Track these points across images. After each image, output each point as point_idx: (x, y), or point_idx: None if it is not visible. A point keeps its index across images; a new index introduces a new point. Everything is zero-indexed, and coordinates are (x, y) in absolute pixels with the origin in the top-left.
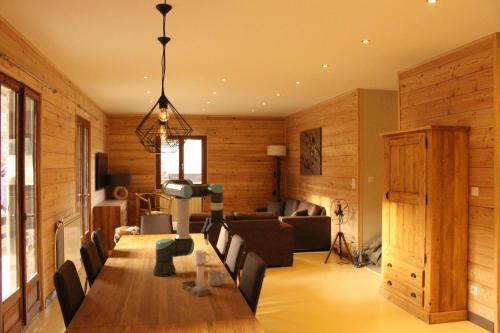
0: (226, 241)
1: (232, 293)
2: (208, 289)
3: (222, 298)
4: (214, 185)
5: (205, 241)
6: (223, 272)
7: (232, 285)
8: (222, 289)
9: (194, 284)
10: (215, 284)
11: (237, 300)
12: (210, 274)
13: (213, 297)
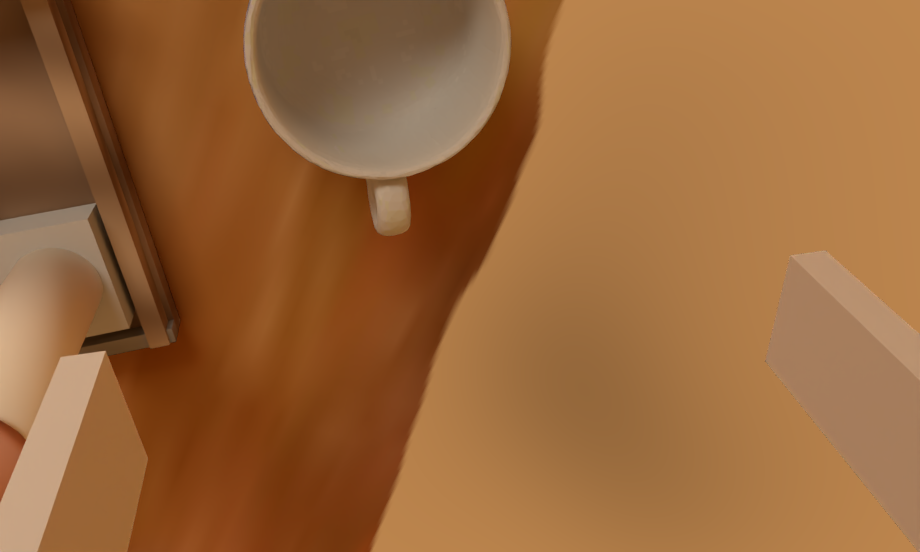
0: (770, 345)
1: (386, 378)
2: (153, 327)
3: (246, 469)
4: None
5: (37, 437)
6: (498, 33)
7: (512, 137)
8: (351, 228)
9: (28, 11)
10: (316, 114)
11: (343, 541)
12: (261, 103)
13: (175, 423)
